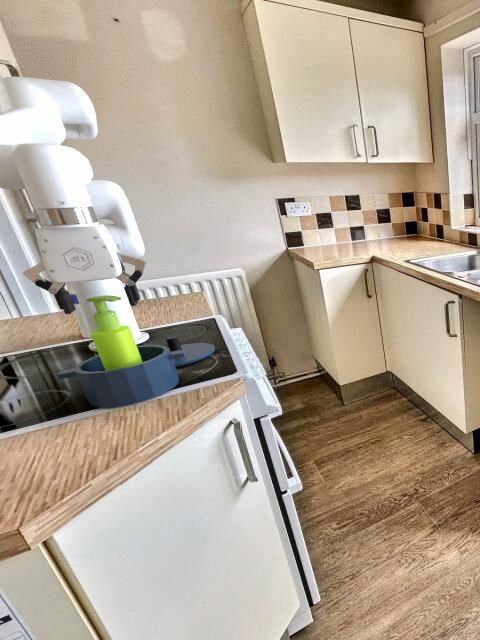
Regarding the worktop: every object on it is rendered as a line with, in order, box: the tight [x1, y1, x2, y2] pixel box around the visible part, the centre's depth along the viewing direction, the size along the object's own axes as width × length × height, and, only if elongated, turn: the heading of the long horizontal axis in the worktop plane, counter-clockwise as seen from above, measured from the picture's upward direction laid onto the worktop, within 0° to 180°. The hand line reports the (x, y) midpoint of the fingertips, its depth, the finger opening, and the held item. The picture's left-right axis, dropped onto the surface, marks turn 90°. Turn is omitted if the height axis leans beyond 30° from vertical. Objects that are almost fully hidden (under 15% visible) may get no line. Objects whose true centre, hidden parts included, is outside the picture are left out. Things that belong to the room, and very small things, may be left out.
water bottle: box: [65, 283, 92, 339], centre depth 121 cm, size 8×9×25 cm
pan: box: [57, 344, 186, 409], centre depth 88 cm, size 15×20×8 cm
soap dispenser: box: [86, 295, 143, 371], centre depth 85 cm, size 6×7×20 cm
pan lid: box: [165, 335, 216, 368], centre depth 104 cm, size 16×16×6 cm
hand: (103, 308), depth 83 cm, fingers open, 9 cm apart
